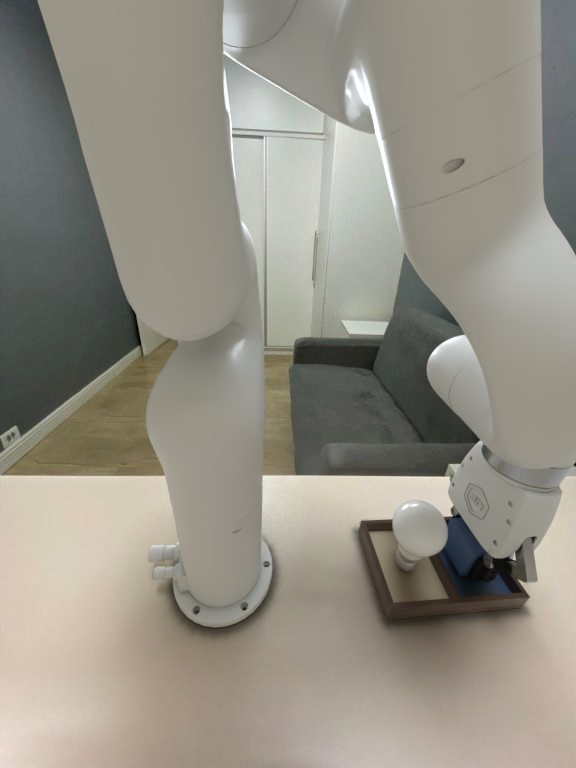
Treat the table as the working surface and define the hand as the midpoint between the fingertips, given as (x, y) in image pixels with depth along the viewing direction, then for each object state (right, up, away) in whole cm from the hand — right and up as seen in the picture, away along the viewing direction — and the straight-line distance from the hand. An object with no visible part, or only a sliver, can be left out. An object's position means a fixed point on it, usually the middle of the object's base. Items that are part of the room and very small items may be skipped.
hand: (467, 554), depth 42 cm
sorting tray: (-5, -2, +1) cm, 5 cm away
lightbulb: (-9, -1, 0) cm, 9 cm away
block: (0, 0, 0) cm, 0 cm away
